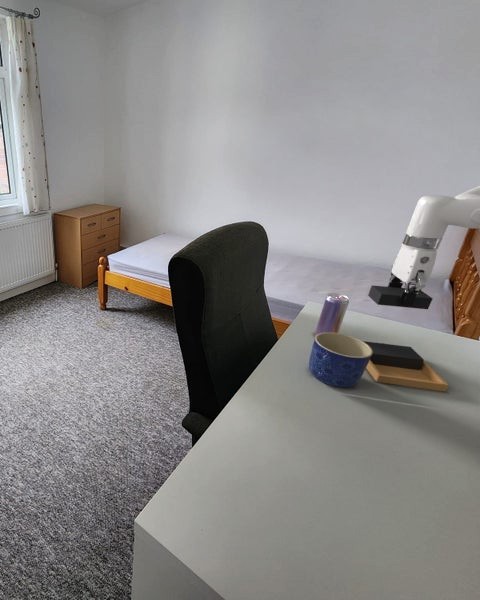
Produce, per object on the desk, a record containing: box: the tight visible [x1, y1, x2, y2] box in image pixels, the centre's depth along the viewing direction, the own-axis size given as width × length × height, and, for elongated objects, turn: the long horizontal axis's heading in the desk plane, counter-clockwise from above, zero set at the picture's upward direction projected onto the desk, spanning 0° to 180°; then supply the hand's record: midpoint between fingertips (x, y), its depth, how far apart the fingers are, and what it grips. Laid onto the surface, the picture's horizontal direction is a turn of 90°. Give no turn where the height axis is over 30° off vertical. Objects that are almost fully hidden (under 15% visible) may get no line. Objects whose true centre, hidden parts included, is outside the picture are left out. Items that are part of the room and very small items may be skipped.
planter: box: [308, 332, 373, 388], centre depth 91 cm, size 12×12×11 cm
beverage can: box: [314, 293, 350, 336], centre depth 109 cm, size 6×6×15 cm
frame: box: [366, 360, 449, 392], centre depth 96 cm, size 15×17×2 cm
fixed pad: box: [362, 340, 425, 370], centre depth 99 cm, size 12×7×4 cm, turn 73°
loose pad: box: [367, 285, 433, 310], centre depth 101 cm, size 12×7×4 cm, turn 71°
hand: (397, 299), depth 102 cm, fingers closed on loose pad, 7 cm apart
